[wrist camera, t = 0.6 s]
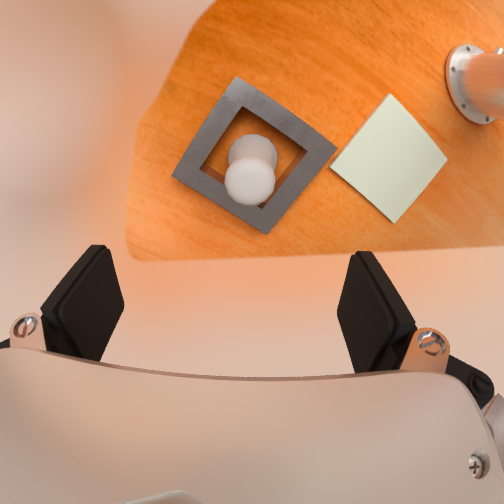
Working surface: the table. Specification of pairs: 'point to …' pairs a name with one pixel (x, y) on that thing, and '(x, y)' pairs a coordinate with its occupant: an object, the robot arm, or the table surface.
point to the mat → (389, 159)
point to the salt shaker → (251, 169)
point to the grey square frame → (291, 180)
